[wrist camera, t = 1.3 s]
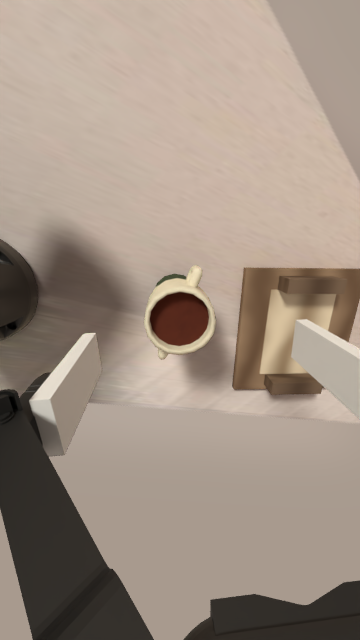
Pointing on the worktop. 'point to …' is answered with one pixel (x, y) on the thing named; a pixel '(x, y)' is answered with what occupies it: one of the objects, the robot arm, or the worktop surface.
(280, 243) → the worktop surface
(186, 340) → the character mug
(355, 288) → the seating jig
